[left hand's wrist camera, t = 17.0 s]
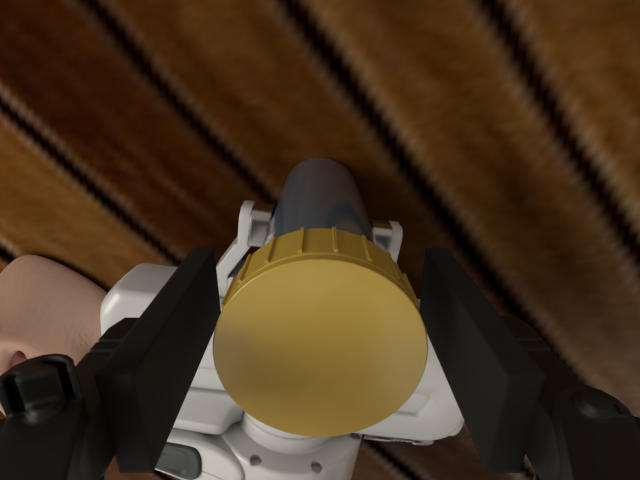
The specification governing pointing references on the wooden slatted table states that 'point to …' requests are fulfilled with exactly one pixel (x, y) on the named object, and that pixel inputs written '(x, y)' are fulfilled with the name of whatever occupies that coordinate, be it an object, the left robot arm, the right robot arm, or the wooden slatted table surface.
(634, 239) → the wooden slatted table surface
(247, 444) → the right robot arm
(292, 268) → the lid
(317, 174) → the blue-grey cylinder
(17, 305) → the anatomical model
